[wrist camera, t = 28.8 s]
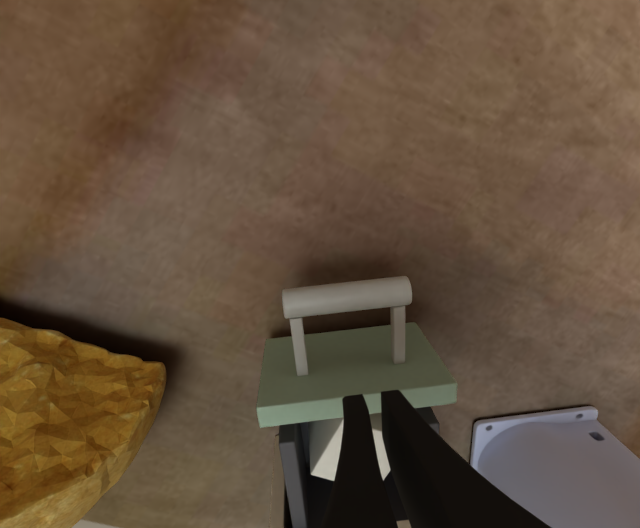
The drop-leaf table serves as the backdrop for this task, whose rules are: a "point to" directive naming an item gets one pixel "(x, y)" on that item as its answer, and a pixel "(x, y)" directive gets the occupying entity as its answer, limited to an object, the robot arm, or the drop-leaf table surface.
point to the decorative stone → (67, 423)
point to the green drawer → (343, 379)
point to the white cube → (339, 446)
